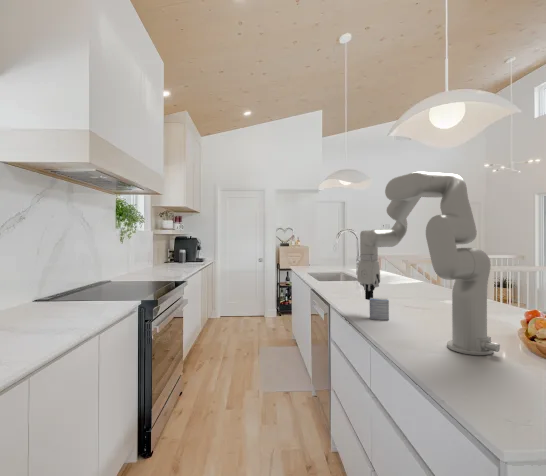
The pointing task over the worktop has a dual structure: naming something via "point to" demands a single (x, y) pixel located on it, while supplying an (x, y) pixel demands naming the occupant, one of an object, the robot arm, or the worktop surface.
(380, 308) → the medicine box
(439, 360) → the worktop surface
